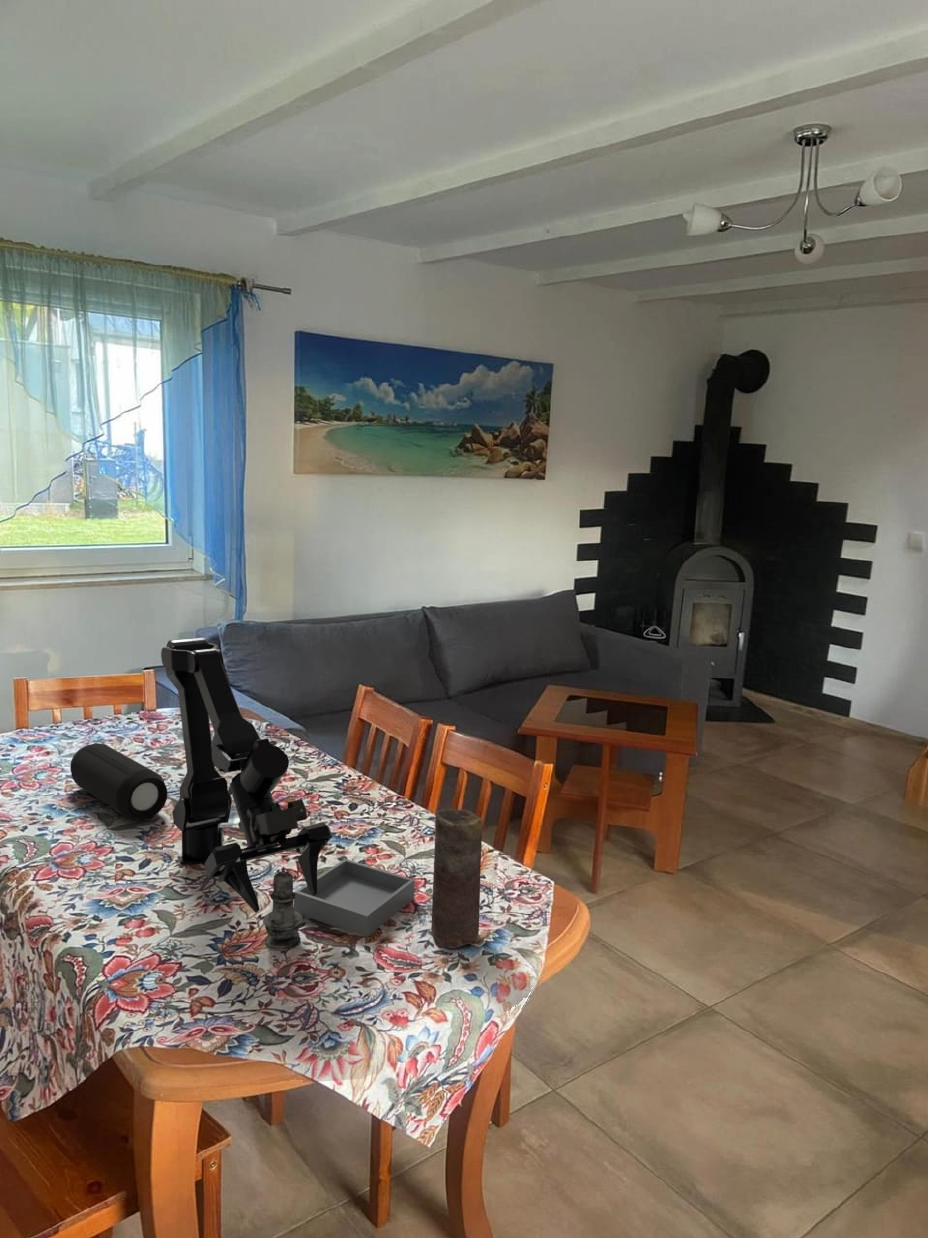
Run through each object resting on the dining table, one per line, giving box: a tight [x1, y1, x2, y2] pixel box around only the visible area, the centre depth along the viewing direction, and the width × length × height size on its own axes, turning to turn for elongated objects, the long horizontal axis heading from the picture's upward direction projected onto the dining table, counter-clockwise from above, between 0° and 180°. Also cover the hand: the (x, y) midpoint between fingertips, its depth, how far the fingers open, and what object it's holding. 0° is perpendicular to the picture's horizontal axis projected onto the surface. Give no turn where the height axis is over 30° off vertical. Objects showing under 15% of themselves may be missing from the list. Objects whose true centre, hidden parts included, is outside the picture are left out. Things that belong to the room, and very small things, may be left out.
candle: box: [430, 808, 483, 949], centre depth 136 cm, size 8×7×20 cm
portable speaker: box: [69, 742, 168, 820], centre depth 182 cm, size 26×10×10 cm, turn 47°
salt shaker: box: [262, 866, 304, 952], centre depth 134 cm, size 6×6×12 cm
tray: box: [293, 858, 416, 938], centre depth 146 cm, size 14×14×4 cm
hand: (286, 903), depth 133 cm, fingers open, 9 cm apart
